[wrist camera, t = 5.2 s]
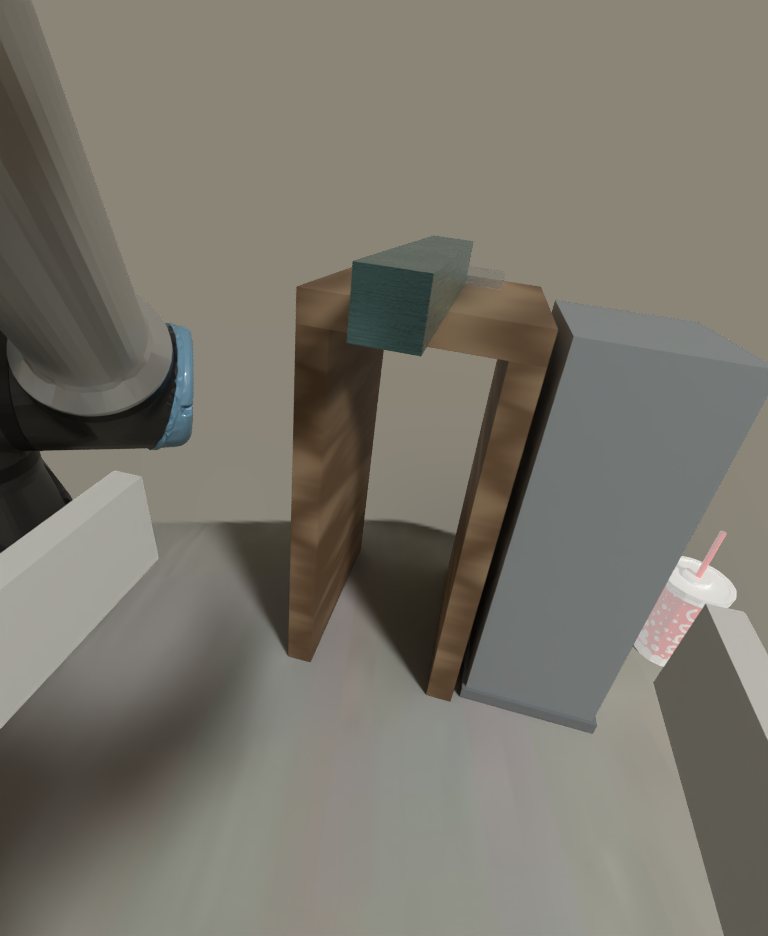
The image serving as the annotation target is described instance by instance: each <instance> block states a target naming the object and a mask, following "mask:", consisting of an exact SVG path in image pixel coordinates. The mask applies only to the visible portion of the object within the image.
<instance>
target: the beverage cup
mask: <svg viewBox="0 0 768 936" xmlns="http://www.w3.org/2000/svg"><path fill="white" fill-rule="evenodd" d="M726 534H727V533H726V532H725V531H720V533H719V535H718V536H717V538H716V540H715V541H714V543H713V545H712V547H711V548H710V550H709V552H708V554H707V555H706V557H705V559H704V561H703V562H701V561H698V560H695V559H693V558H689V557H684V556H681V558H680V560H679V562H678V563H677V565H676V567H675V569H674V571H673V573H672V575H671V576H670V578H669V580H668V582H667V584H666V586H665V588H664V589H663V591H662V593H661V595H660V597H659V599H658V600H657V602H656V604H655V606H654V608H653V610H652V612H651V613H650V615H649V617H648V619H647V621H646V623H645V625H644V626H643V628H642V630H641V632H640V634H639V636H638V638H637V639H636V641H635V643H634V646H635V647H636V649H637V650H638V651H639V653H640V654H642V655H643V656H644V657H645V658H647V659H648V660H649V661H651V662H653V663H655V664H657V665H659V666H663V667H664V666H665V664H666V663H667V661H668V660H669V658H670V657H671V655H672V654H673V652H674V651H675V649H676V648H677V646H678V645H679V643H680V641H681V640H682V638H683V637H684V635H685V634H686V632H687V631H688V629H689V628H690V626H691V625H692V623H693V622H694V620H695V619H696V617H697V616H698V614H699V613H700V611H701V610H702V608H703V607H704V605H705V604H711V605H715V606H720V607H724V608H728V607H729V606H731V605H732V602H734V601H735V599H736V589H735V587H734V586H733V584H732V583H731V581H730V580H729V579H727V578H726V577H725V576H724V575H723V574H722V573H721V572H719V571H718V570H716V569H714V568H713V567H711V566H709V563H710V562H711V560H712V558H713V557H714V555H715V553H716V551H717V550H718V548H719V546H720V545H721V543H722V541H723V539H724V538H725V536H726Z"/></svg>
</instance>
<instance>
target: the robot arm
mask: <svg viewBox="0 0 768 936" xmlns="http://www.w3.org/2000/svg"><path fill="white" fill-rule="evenodd" d="M192 405H193V342H192V337H191V332H190V331H189V330H188V329H187V328H185V327H182V326H176V325H174V324H172V323H165V322H164V321H163V319H162V317H161V316H160V315H159V314H158V312H157V311H156V310H155V309H154V308H153V307H152V306H151V305H150V304H148V303H147V302H146V301H145V300H143V299H142V298H140V297H139V296H137V295H135V293H134V290H133V287H132V284H131V281H130V279H129V276H128V273H127V271H126V267H125V264H124V262H123V259H122V256H121V253H120V250H119V248H118V245H117V242H116V239H115V237H114V234H113V230H112V228H111V225H110V222H109V219H108V217H107V214H106V211H105V208H104V205H103V202H102V199H101V197H100V194H99V191H98V188H97V185H96V182H95V180H94V177H93V174H92V171H91V168H90V165H89V162H88V160H87V157H86V154H85V152H84V149H83V145H82V143H81V140H80V137H79V134H78V131H77V128H76V126H75V123H74V120H73V117H72V114H71V112H70V109H69V106H68V103H67V100H66V97H65V94H64V92H63V89H62V86H61V83H60V80H59V77H58V75H57V72H56V69H55V66H54V63H53V60H52V58H51V55H50V52H49V49H48V46H47V44H46V41H45V38H44V35H43V32H42V29H41V26H40V23H39V21H38V18H37V15H36V12H35V9H34V6H33V4H32V1H31V0H0V729H1V728H2V727H3V726H4V725H5V723H6V722H7V721H8V720H9V719H10V718H11V717H12V716H13V715H14V714H15V713H16V712H17V711H18V709H19V708H20V707H21V706H22V705H23V704H24V703H25V702H26V701H27V700H28V699H29V698H30V697H31V696H32V694H33V693H34V692H35V691H36V690H37V689H38V688H39V687H40V686H41V685H42V684H43V683H44V682H45V680H46V679H47V678H48V677H49V676H50V675H51V674H52V673H53V672H54V671H55V670H56V669H57V668H58V666H59V665H60V664H61V663H62V662H63V661H64V660H65V659H66V658H67V657H68V656H69V655H70V654H71V653H72V651H73V650H74V649H75V648H76V647H77V646H78V645H79V644H80V643H81V642H82V641H83V640H84V639H85V637H86V636H87V635H88V634H89V633H90V632H91V631H92V630H93V629H94V628H95V627H96V626H97V625H98V624H99V622H100V621H101V620H102V619H103V618H104V617H105V616H106V615H107V614H108V613H109V612H110V611H111V610H112V608H113V607H114V606H115V605H116V604H117V603H118V602H119V601H120V600H121V599H122V598H123V597H124V596H125V594H126V593H127V592H128V591H129V590H130V589H131V588H132V587H133V586H134V585H135V584H136V583H137V582H138V581H139V579H140V578H141V577H142V576H143V575H144V574H145V573H146V572H147V571H148V570H149V569H150V568H151V567H152V565H153V564H154V563H155V562H156V561H157V560H158V559H159V557H158V552H157V547H156V543H155V538H154V533H153V528H152V523H151V519H150V513H149V509H148V504H147V499H146V494H145V489H144V485H143V480H142V476H138V475H134V474H130V473H125V472H121V471H116V470H114V471H112V472H111V473H109V474H108V475H107V476H105V477H104V478H103V479H102V480H100V481H99V482H97V483H96V484H94V485H93V486H92V487H90V488H89V489H88V490H86V491H85V492H84V493H82V494H81V495H79V496H78V497H77V498H75V499H74V500H72V498H71V496H70V495H69V493H68V492H67V491H66V490H65V488H64V487H63V485H62V484H61V483H60V481H59V480H58V479H57V478H56V476H55V475H54V474H53V472H52V471H51V470H50V468H49V467H48V466H47V465H46V463H45V462H44V461H43V459H42V458H41V454H40V451H45V450H90V449H135V448H148V449H149V450H157V449H160V448H164V447H177V446H181V445H183V444H185V443H186V442H187V441H188V440H189V439H190V437H191V433H192V421H193V407H192ZM653 683H654V686H655V690H656V694H657V697H658V701H659V704H660V708H661V712H662V715H663V719H664V722H665V726H666V729H667V733H668V737H669V740H670V744H671V747H672V751H673V755H674V758H675V762H676V765H677V769H678V772H679V776H680V780H681V783H682V787H683V790H684V794H685V797H686V801H687V805H688V808H689V812H690V815H691V819H692V823H693V826H694V830H695V833H696V837H697V840H698V844H699V848H700V851H701V855H702V858H703V862H704V866H705V869H706V873H707V876H708V880H709V883H710V887H711V891H712V894H713V898H714V901H715V905H716V908H717V912H718V916H719V919H720V923H721V926H722V930H723V934H724V936H768V654H767V653H766V651H765V649H764V647H763V645H762V643H761V642H760V639H759V638H758V636H757V634H756V632H755V630H754V628H753V626H752V625H751V623H750V621H749V619H748V617H747V615H746V613H745V612H742V611H737V610H733V609H728V608H724V607H720V606H715V605H711V604H705V605H704V607H703V608H702V610H701V611H700V613H699V614H698V616H697V617H696V619H695V620H694V622H693V623H692V625H691V626H690V628H689V629H688V631H687V632H686V634H685V635H684V637H683V638H682V640H681V641H680V643H679V645H678V646H677V648H676V649H675V651H674V652H673V654H672V655H671V657H670V658H669V660H668V661H667V663H666V664H665V666H664V667H663V669H662V670H661V672H660V673H659V675H658V676H657V678H656V679H655V681H654V682H653Z"/></svg>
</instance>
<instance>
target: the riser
mask: <svg viewBox="0 0 768 936" xmlns="http://www.w3.org/2000/svg"><path fill="white" fill-rule="evenodd" d="M351 278H352V267H351V268H349V269H345V270H343V271H340V272H337V273H334V274H331V275H329V276H326V277H323V278H320V279H317V280H314V281H311V282H308V283H306V284H303V285H300V286H297V292H296V336H295V379H294V423H293V467H292V510H291V511H292V512H291V554H290V597H289V641H288V656H290V657H293V658H297V659H301V660H304V661H308V662H311V660H312V657H313V655H314V653H315V651H316V648H317V646H318V644H319V642H320V639H321V637H322V635H323V633H324V630H325V628H326V626H327V624H328V621H329V619H330V617H331V615H332V612H333V610H334V608H335V605H336V603H337V601H338V599H339V596H340V594H341V592H342V590H343V587H344V585H345V583H346V581H347V578H348V576H349V574H350V572H351V569H352V567H353V565H354V563H355V560H356V558H357V556H358V554H359V551H360V549H361V542H362V534H363V525H364V515H365V507H366V499H367V490H368V481H369V472H370V464H371V455H372V447H373V438H374V428H375V420H376V411H377V402H378V393H379V386H380V377H381V368H382V359H383V349H377V348H372V347H366V346H361V345H355V344H349V343H347V331H348V317H349V304H350V291H351ZM557 332H558V328H557V325H556V323H555V320H554V318H553V315H552V313H551V311H550V308H549V306H548V303H547V301H546V298H545V296H544V294H543V291H542V289H541V287H538V286H532V285H526V284H519V283H512V282H505V281H504V282H503V286H502V290H500V289H494V288H487V287H481V286H474V285H468V284H465V286H464V287H463V289H462V291H461V292H460V294H459V295H458V297H457V299H456V300H455V302H454V304H453V305H452V307H451V308H450V310H449V312H448V313H447V315H446V317H445V318H444V320H443V321H442V323H441V325H440V326H439V328H438V330H437V331H436V333H435V334H434V336H433V338H432V339H431V341H430V343H429V344H428V346H427V347H431V348H437V349H443V350H448V351H454V352H460V353H466V354H471V355H477V356H483V357H488V358H494V359H497V363H496V367H495V371H494V376H493V380H492V384H491V388H490V393H489V397H488V401H487V405H486V410H485V414H484V418H483V422H482V427H481V431H480V435H479V439H478V444H477V448H476V453H475V456H474V461H473V465H472V469H471V474H470V478H469V482H468V486H467V490H466V495H465V499H464V503H463V507H462V512H461V516H460V520H459V525H458V529H457V533H456V537H455V541H454V546H453V550H452V554H451V558H450V563H449V567H448V572H447V578H446V583H445V589H444V595H443V601H442V606H441V612H440V618H439V624H438V629H437V635H436V641H435V647H434V653H433V658H432V664H431V670H430V676H429V681H428V687H427V693H426V695H429V696H432V697H436V698H439V699H443V700H446V701H451V698H452V694H453V691H454V687H455V684H456V680H457V677H458V674H459V670H460V667H461V663H462V660H463V656H464V653H465V649H466V646H467V642H468V639H469V636H470V632H471V629H472V625H473V622H474V618H475V615H476V611H477V608H478V605H479V601H480V598H481V594H482V591H483V587H484V584H485V580H486V577H487V574H488V570H489V567H490V563H491V560H492V556H493V553H494V549H495V546H496V542H497V539H498V536H499V532H500V529H501V525H502V522H503V518H504V515H505V511H506V508H507V505H508V501H509V498H510V494H511V491H512V487H513V484H514V480H515V477H516V474H517V470H518V467H519V463H520V460H521V456H522V453H523V449H524V446H525V442H526V439H527V436H528V432H529V429H530V425H531V422H532V418H533V415H534V411H535V408H536V405H537V401H538V398H539V394H540V391H541V387H542V384H543V380H544V377H545V374H546V370H547V367H548V363H549V360H550V356H551V353H552V349H553V346H554V342H555V339H556V336H557Z"/></svg>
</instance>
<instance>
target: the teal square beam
mask: <svg viewBox="0 0 768 936" xmlns="http://www.w3.org/2000/svg"><path fill="white" fill-rule="evenodd" d="M472 246H473V241H467V240H460V239H453V238H445V237H439V236H431V237H428V238H425V239H422V240H419V241H415V242H412V243H409V244H406V245H403V246H399V247H396V248H393V249H390V250H387V251H383V252H380V253H377V254H374V255H371V256H367V257H365V258H361V259H358V260H355V261H353V265H352V278H351V291H350V304H349V317H348V331H347V343H349V344H355V345H361V346H366V347H372V348H377V349H383V350H388V351H394V352H400V353H405V354H411V355H417V356H422V354H423V352H424V351H425V349H426V348H427V346H428V344H429V343H430V341H431V339H432V338H433V336H434V334H435V333H436V331H437V330H438V328H439V326H440V325H441V323H442V321H443V320H444V318H445V317H446V315H447V313H448V312H449V310H450V308H451V307H452V305H453V304H454V302H455V300H456V299H457V297H458V295H459V294H460V292H461V291H462V289H463V287H464V286H465V284H468V285H474V286H481V287H487V288H494V289H500V290H502V286H503V282H504V272H503V271H497V270H489V269H483V268H476V267H470V266H469V262H470V257H471V252H472Z"/></svg>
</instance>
